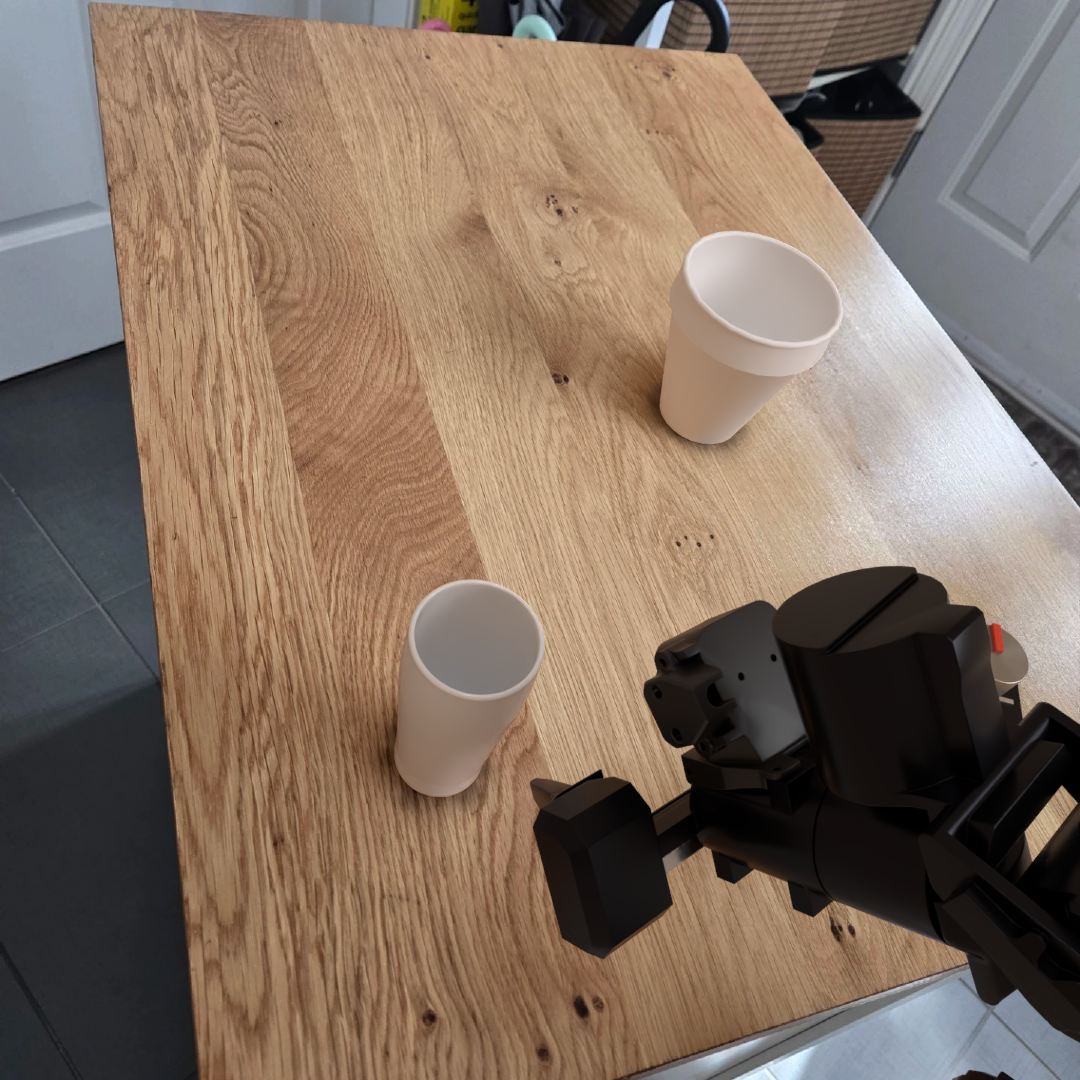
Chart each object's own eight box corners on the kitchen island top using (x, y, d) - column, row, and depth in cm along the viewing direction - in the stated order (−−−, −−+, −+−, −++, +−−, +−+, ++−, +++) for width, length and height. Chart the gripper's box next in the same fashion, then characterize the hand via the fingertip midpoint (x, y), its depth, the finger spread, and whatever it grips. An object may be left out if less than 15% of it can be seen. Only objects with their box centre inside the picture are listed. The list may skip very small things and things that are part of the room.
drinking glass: (357, 772, 56) (378, 651, 44) (420, 686, 60) (454, 553, 48) (455, 835, 56) (503, 728, 44) (513, 743, 60) (571, 622, 48)
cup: (666, 338, 84) (723, 207, 74) (789, 408, 83) (866, 285, 72) (601, 417, 77) (654, 284, 66) (734, 496, 75) (811, 373, 65)
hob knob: (988, 723, 66) (1036, 688, 62) (928, 706, 66) (972, 671, 62) (981, 668, 69) (1027, 631, 65) (924, 652, 69) (966, 614, 64)
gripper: (959, 556, 41) (696, 545, 53) (640, 740, 31) (408, 673, 43) (996, 793, 43) (735, 729, 56) (711, 1039, 33) (470, 892, 45)
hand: (603, 749), depth 50 cm, fingers open, 9 cm apart
